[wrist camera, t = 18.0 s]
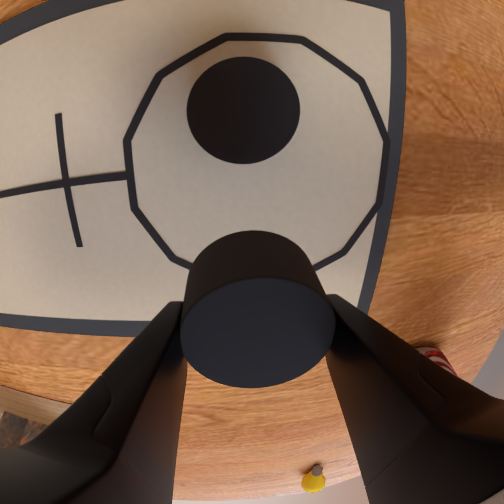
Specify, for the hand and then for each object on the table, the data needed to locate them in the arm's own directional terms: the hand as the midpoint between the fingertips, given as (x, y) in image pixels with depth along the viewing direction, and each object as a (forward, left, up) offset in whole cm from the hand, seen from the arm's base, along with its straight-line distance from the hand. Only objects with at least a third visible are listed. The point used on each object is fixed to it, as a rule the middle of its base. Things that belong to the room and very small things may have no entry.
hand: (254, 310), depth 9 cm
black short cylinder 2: (0, 0, -1) cm, 1 cm away
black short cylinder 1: (0, -5, -6) cm, 8 cm away
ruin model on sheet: (+26, +25, -7) cm, 37 cm away
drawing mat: (+10, -3, -7) cm, 12 cm away
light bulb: (-9, +37, -7) cm, 39 cm away
